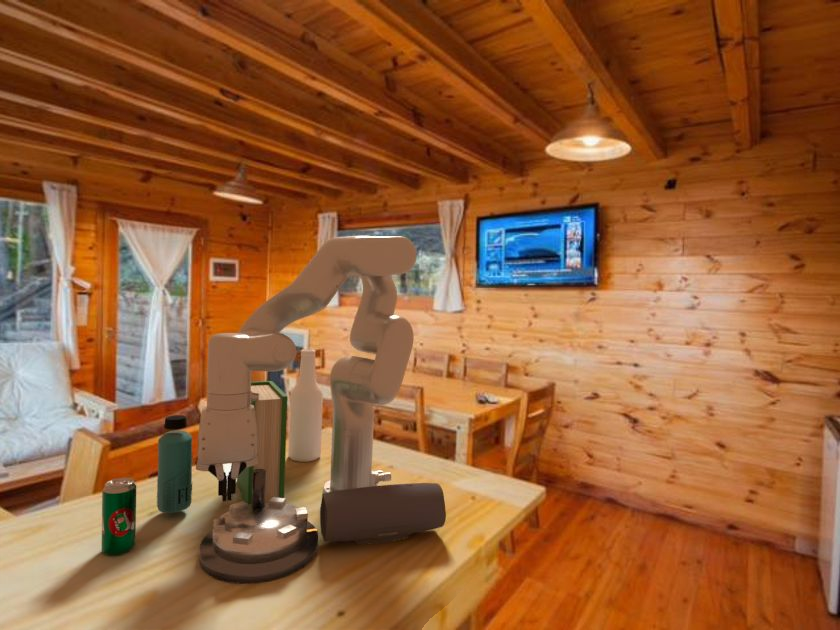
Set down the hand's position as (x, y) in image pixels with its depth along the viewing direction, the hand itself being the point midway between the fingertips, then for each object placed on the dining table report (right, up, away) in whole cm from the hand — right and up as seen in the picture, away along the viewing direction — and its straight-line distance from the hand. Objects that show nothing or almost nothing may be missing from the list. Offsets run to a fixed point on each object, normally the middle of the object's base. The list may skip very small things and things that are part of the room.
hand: (226, 498), depth 91 cm
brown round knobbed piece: (+8, -6, -3) cm, 10 cm away
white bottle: (+4, -6, +45) cm, 46 cm away
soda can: (-17, -7, -5) cm, 19 cm away
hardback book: (-1, -7, +20) cm, 21 cm away
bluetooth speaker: (+29, -9, +3) cm, 30 cm away
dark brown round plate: (+7, -8, -3) cm, 11 cm away
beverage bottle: (-14, -7, +9) cm, 18 cm away
